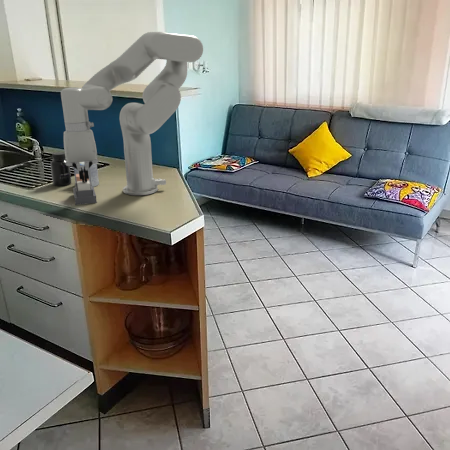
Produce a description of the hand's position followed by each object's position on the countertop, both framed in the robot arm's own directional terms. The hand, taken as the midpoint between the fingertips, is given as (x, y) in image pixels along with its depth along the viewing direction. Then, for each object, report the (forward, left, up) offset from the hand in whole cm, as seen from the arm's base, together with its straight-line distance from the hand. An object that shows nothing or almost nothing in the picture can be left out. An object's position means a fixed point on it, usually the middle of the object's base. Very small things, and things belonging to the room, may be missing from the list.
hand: (84, 181), depth 161 cm
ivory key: (0, 0, -3) cm, 3 cm away
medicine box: (-2, -19, -7) cm, 21 cm away
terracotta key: (0, -5, -2) cm, 6 cm away
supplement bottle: (+7, -24, -7) cm, 27 cm away
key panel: (0, -3, -7) cm, 8 cm away
